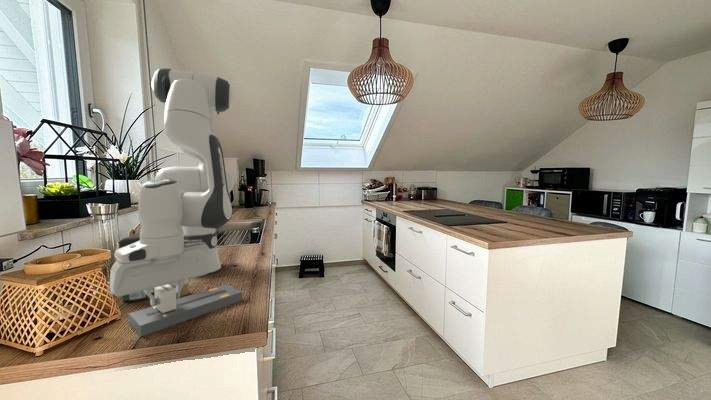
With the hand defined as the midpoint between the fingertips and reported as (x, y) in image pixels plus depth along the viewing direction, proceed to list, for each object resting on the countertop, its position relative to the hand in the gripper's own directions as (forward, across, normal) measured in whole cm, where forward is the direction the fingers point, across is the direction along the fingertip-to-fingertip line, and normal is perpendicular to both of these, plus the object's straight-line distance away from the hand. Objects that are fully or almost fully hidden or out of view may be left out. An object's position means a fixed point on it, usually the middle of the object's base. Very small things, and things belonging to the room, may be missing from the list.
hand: (165, 301), depth 70 cm
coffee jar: (+5, 0, -22) cm, 22 cm away
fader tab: (+2, 0, 0) cm, 2 cm away
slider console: (+4, -6, 0) cm, 7 cm away
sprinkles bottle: (+5, -8, -14) cm, 17 cm away
